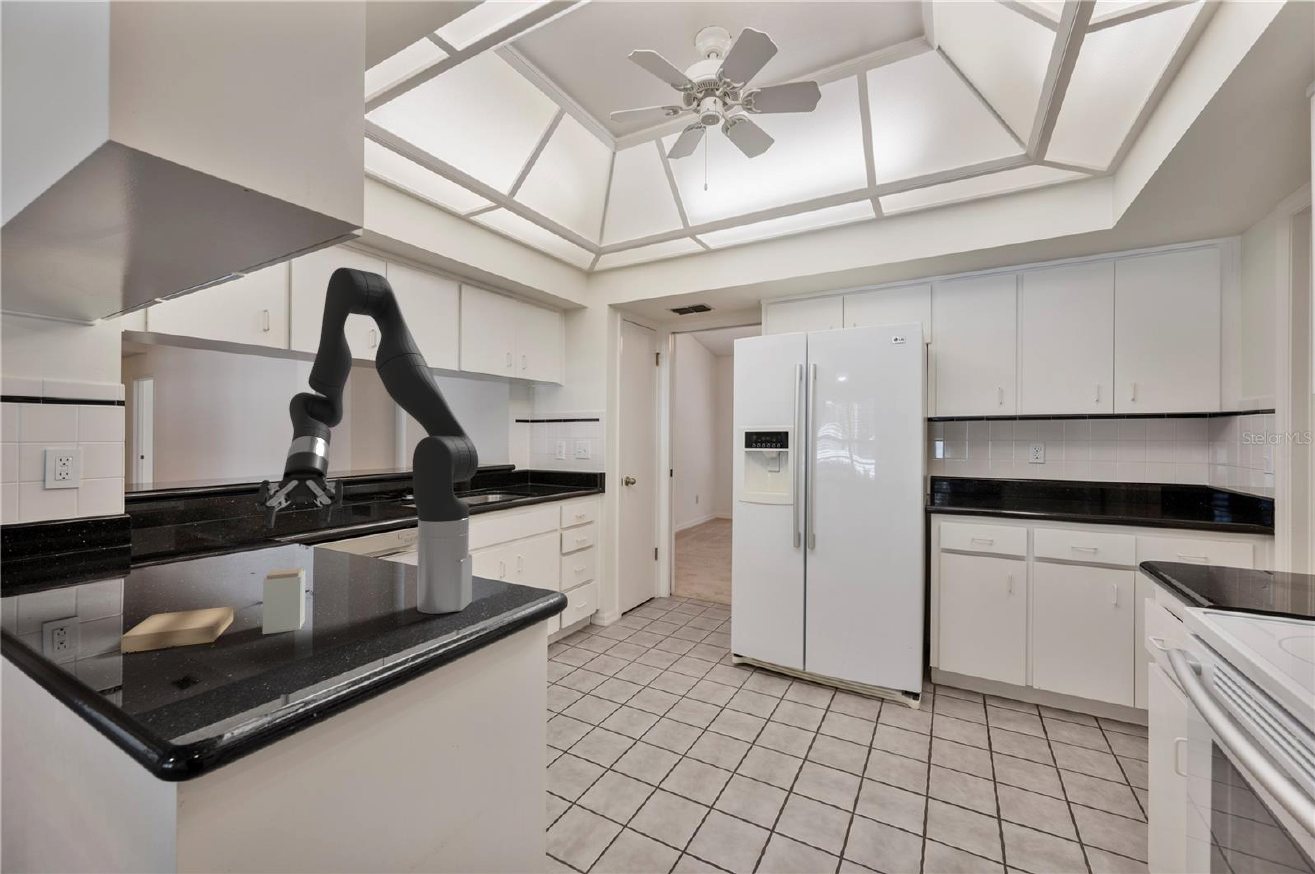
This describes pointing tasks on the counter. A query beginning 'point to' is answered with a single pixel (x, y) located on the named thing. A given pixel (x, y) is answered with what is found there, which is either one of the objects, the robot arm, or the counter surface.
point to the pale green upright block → (284, 600)
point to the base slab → (177, 629)
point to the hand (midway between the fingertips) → (296, 524)
